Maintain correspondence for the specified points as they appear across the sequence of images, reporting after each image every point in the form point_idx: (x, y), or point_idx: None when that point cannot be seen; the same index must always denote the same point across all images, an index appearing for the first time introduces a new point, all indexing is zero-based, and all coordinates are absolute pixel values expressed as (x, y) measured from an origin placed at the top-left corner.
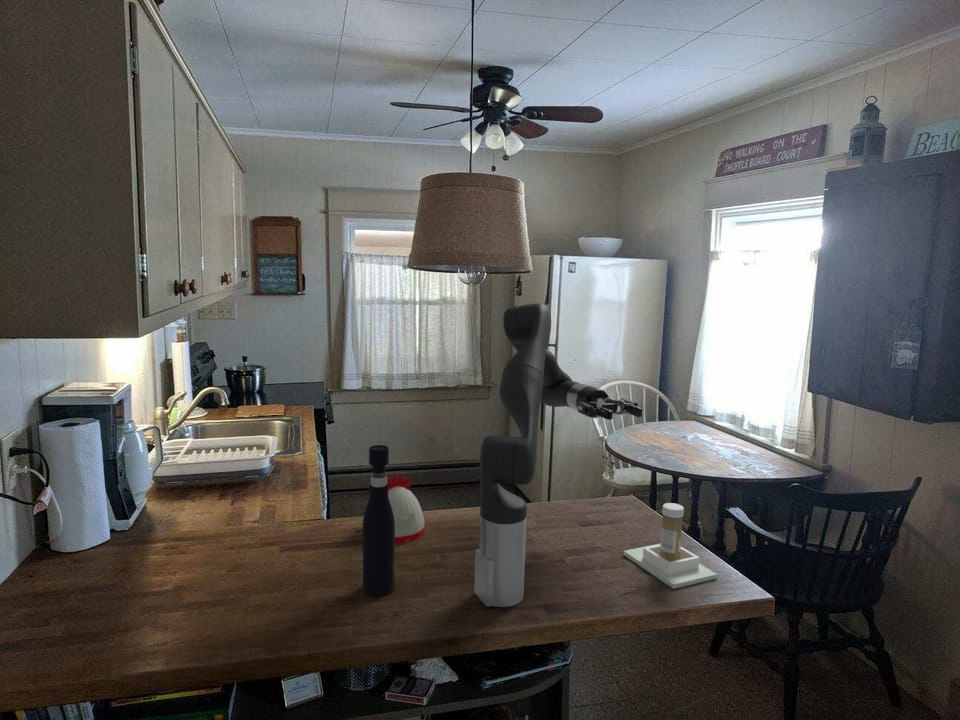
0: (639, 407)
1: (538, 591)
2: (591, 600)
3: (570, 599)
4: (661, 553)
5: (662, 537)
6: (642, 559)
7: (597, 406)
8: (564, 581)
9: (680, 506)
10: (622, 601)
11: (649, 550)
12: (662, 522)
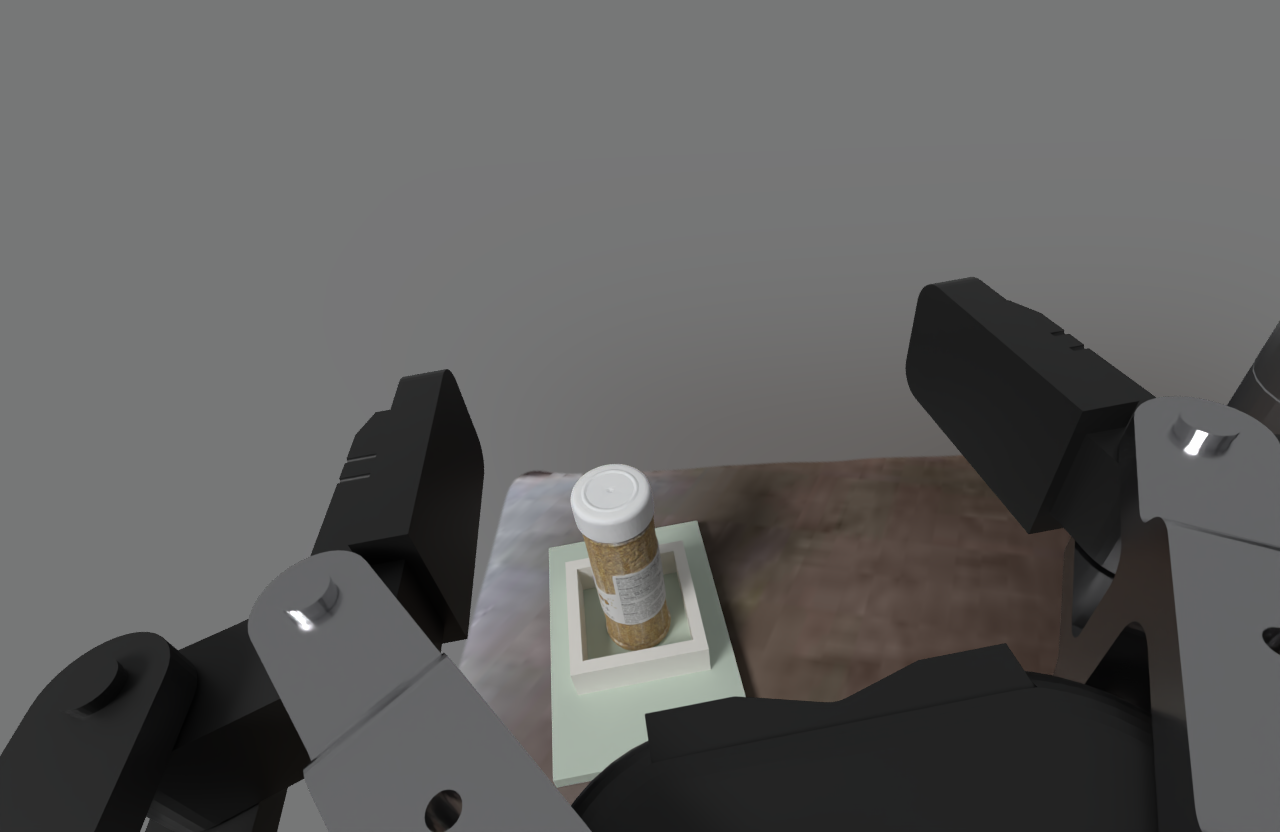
0: (398, 398)
1: None
2: (938, 510)
3: (999, 520)
4: (665, 603)
5: (661, 566)
6: (715, 661)
7: (1251, 449)
8: (1019, 604)
9: (585, 483)
10: (854, 498)
11: (696, 626)
12: (653, 543)
